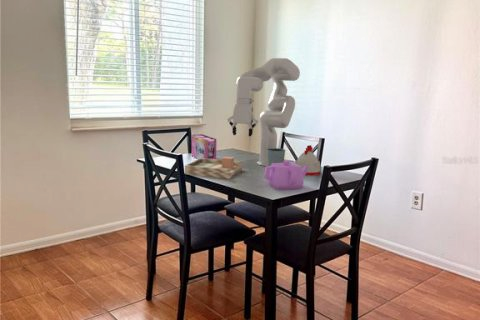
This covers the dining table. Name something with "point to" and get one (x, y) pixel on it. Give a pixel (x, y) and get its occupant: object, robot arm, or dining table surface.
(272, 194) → the dining table surface
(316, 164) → the kitchen timer
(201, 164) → the wooden tray
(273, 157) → the gray plant pot
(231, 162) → the block
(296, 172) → the teakettle
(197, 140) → the gum box
